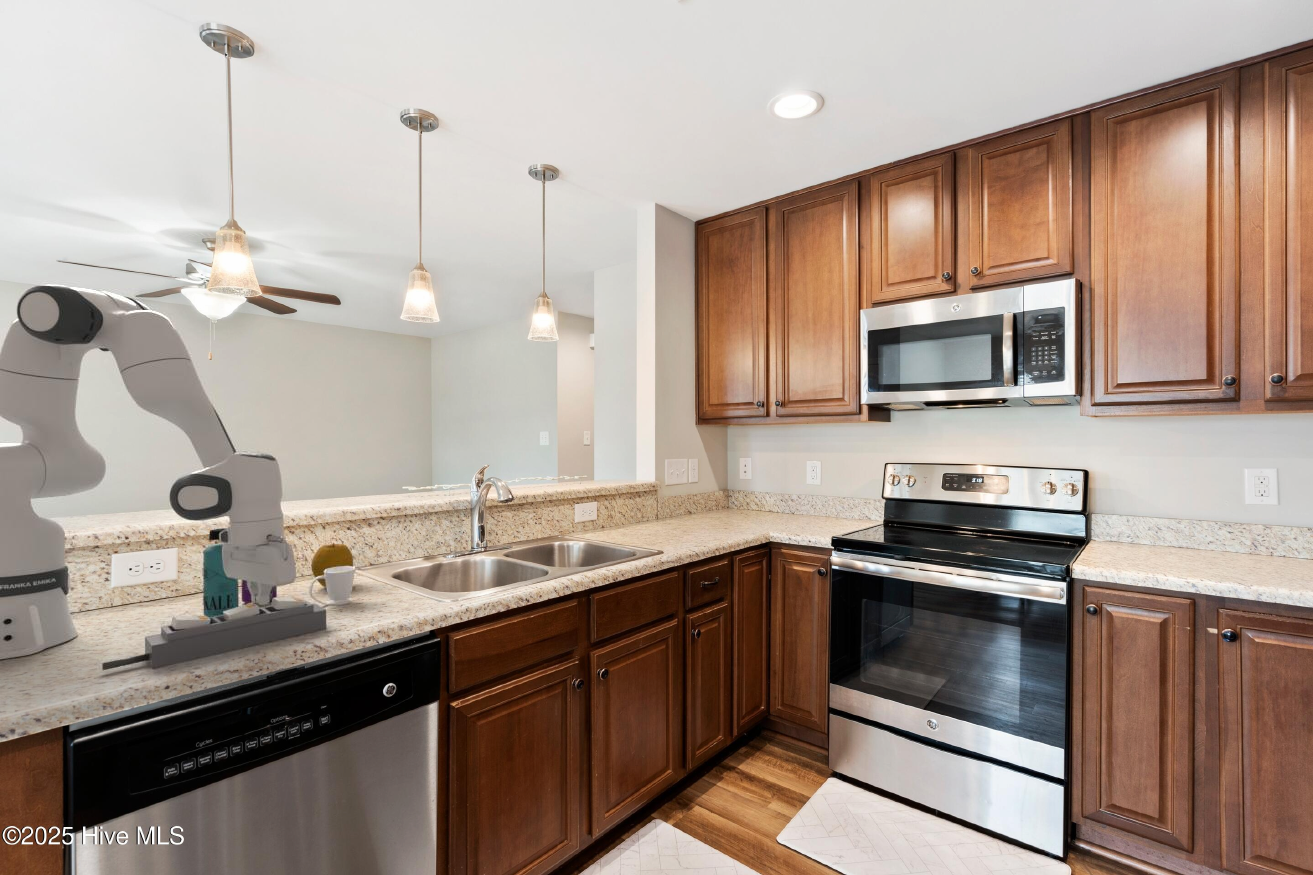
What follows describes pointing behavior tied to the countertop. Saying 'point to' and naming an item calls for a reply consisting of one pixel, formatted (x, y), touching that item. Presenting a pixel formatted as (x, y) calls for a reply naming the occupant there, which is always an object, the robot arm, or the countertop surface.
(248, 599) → the beverage can
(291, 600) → the rocker
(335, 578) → the cup
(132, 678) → the countertop surface
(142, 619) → the countertop surface
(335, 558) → the apple
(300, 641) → the countertop surface
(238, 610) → the rocker
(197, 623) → the block
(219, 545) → the beverage bottle
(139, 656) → the rocker switch panel
